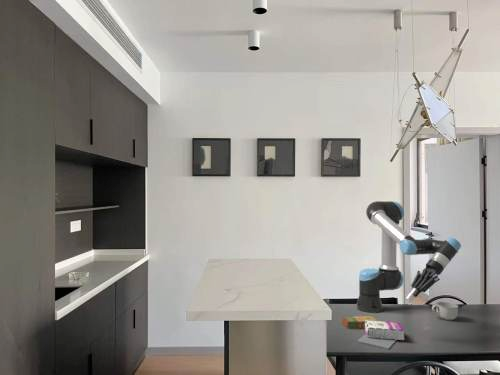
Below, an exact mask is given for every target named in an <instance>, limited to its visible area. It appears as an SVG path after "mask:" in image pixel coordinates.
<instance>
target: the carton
mask: <svg viewBox="0 0 500 375" xmlns="http://www.w3.org/2000/svg"><path fill="white" fill-rule="evenodd" d="M365 320H368V321H378V319H376V318H375V317H374V316H373V315H359V316H358V315H357V316H356V315H354V316H353V315H352V316H342V322H341V323H342V325H343V326H344V327H345V328H347V329H348V330H350V329H352V330H353V329H356V330H358V329H365Z"/></svg>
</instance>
